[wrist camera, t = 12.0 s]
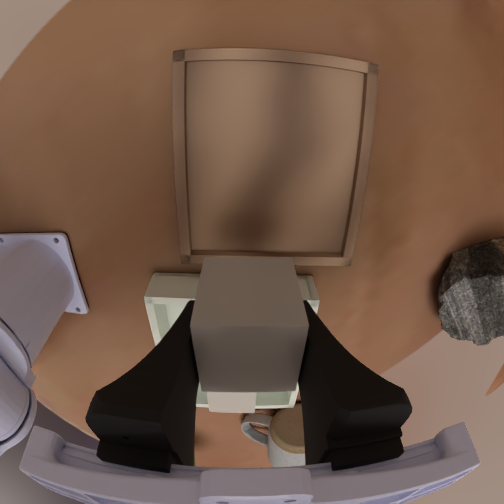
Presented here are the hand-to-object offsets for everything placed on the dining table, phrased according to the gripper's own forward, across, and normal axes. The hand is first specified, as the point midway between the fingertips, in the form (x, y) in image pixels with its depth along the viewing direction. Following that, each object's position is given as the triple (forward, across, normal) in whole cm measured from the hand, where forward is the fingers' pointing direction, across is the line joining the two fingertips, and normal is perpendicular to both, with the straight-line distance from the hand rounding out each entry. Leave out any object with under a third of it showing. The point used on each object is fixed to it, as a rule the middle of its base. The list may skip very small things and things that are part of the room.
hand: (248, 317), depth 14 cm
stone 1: (+2, 0, 0) cm, 2 cm away
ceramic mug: (+9, -5, +25) cm, 27 cm away
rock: (+9, -24, +5) cm, 26 cm away
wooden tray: (+8, -2, -5) cm, 10 cm away
